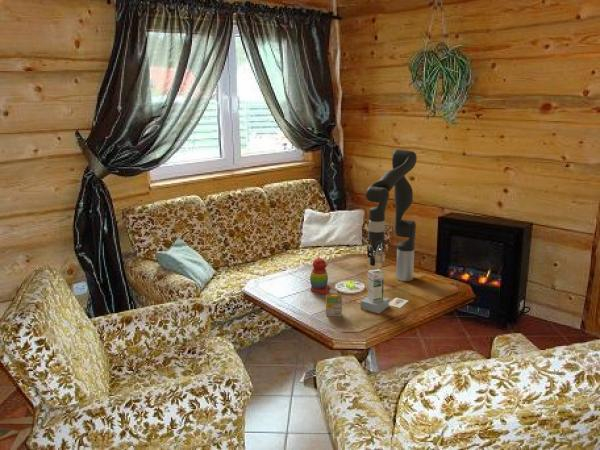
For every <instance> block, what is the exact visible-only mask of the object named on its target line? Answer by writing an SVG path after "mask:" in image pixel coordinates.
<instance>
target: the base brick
mask: <svg viewBox="0 0 600 450" xmlns="http://www.w3.org/2000/svg"><path fill="white" fill-rule="evenodd" d="M389 302H390V298H389V297H384V296H383V301H377V302H372V301H371V300H370V299H369V298H368V295H367V296H365V298H363V299H362V300H360V309H361V310H365V311H368V312H372V313H376V314H381V313H382V312H384V310H386V309H387V308H388V307H389V306H390V305H389Z"/></svg>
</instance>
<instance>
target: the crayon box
mask: <svg viewBox="0 0 600 450" xmlns="http://www.w3.org/2000/svg"><path fill="white" fill-rule="evenodd" d="M325 303H326V305H325V308H326V309H325V315H326V317H342V316H343V294H342V292H337V293H336V292H335V293H328V294H325Z"/></svg>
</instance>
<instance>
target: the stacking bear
mask: <svg viewBox="0 0 600 450" xmlns="http://www.w3.org/2000/svg"><path fill="white" fill-rule="evenodd" d="M327 266H328V263H327V262H326V261H325V260H324V258H321V257H320V256H318V257H317V258H315V259H314V260H313V261H312V267H313V269H312V270H311V272H310V276H309V277H310V278H309V281H310V285H311V287H310V292H312V293H314V294H317V295H325V296H326V295H327V294H329V290H330V289H331V286H330V284H328V283H329V277H328V276H329V275H328V272H327V269H326V268H327Z"/></svg>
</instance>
